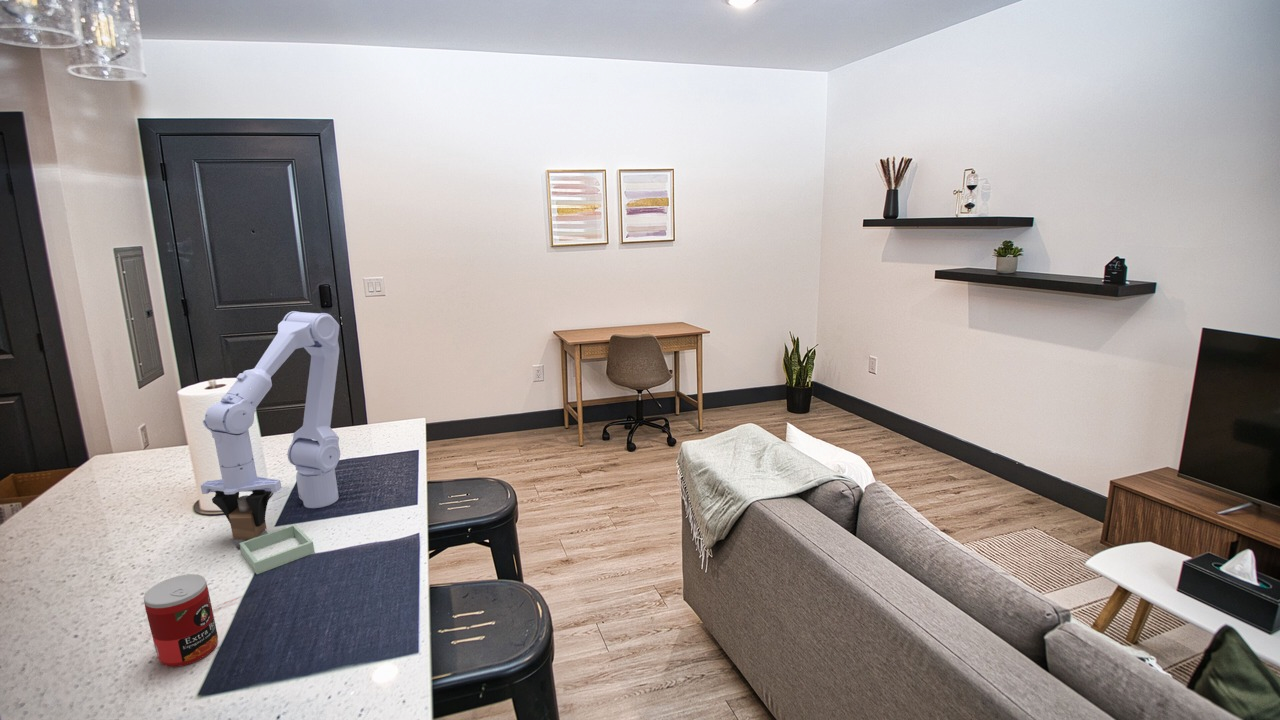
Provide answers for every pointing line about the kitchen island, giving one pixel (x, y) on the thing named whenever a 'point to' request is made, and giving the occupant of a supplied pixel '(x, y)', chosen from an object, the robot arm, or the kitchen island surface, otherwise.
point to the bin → (280, 557)
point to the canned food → (181, 619)
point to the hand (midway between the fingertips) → (248, 524)
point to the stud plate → (236, 542)
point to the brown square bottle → (244, 521)
